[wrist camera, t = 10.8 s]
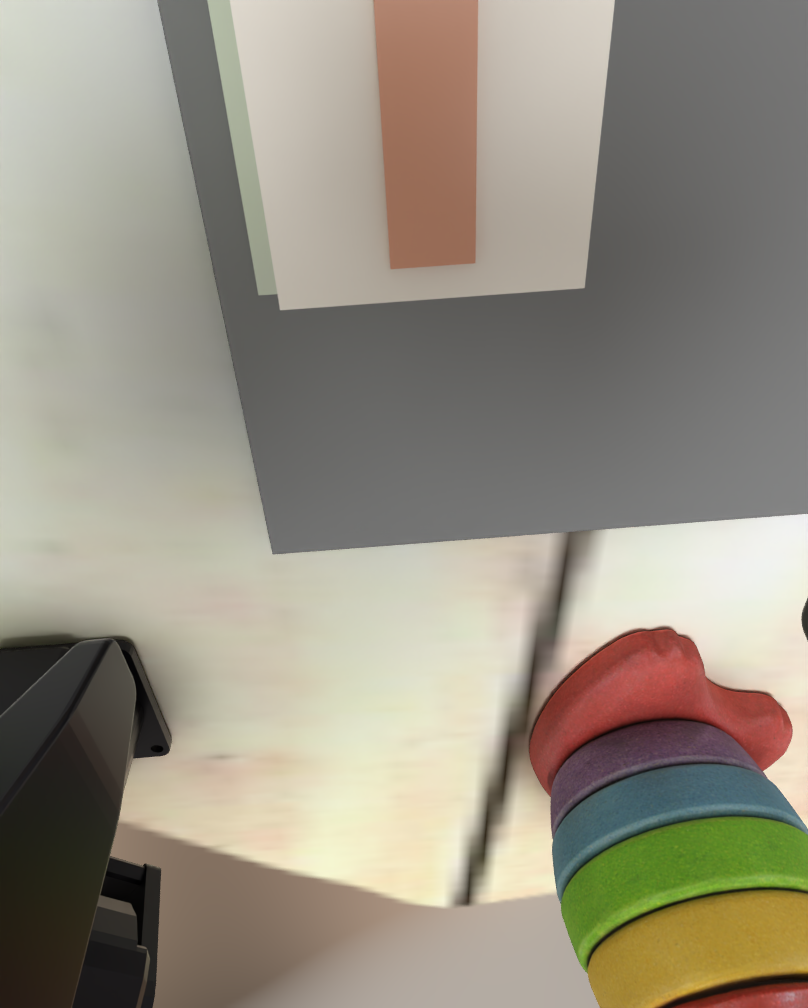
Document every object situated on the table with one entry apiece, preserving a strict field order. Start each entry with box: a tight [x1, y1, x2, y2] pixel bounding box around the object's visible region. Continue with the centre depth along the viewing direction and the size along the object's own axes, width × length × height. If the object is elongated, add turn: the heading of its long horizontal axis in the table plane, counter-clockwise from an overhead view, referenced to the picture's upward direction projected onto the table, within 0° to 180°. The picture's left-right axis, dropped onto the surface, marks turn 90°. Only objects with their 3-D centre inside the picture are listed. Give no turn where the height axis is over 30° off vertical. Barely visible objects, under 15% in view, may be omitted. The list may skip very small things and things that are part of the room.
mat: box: [157, 0, 808, 554], centre depth 17 cm, size 20×22×1 cm
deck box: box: [230, 0, 615, 310], centre depth 12 cm, size 6×9×4 cm, turn 3°
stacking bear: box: [529, 629, 808, 1008], centre depth 23 cm, size 11×10×18 cm
